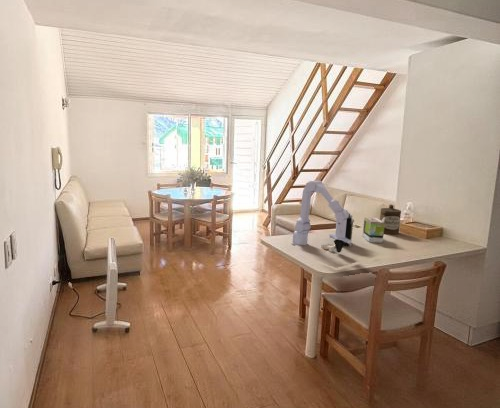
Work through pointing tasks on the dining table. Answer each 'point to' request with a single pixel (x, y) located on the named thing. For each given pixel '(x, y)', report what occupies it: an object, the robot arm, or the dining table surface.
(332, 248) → the white stepped block
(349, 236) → the electrical component
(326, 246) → the brown flat bar
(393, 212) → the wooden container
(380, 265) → the dining table surface
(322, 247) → the heatsink
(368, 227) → the tea box
